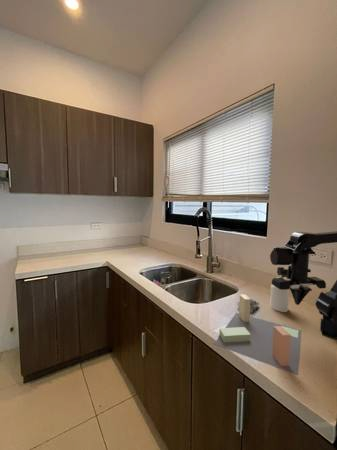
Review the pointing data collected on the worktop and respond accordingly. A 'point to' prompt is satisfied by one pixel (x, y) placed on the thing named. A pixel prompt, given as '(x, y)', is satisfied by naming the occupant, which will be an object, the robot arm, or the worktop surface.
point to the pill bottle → (279, 299)
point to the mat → (263, 342)
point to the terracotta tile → (281, 345)
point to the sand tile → (244, 308)
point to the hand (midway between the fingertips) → (297, 304)
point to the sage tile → (234, 334)
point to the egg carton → (252, 302)
